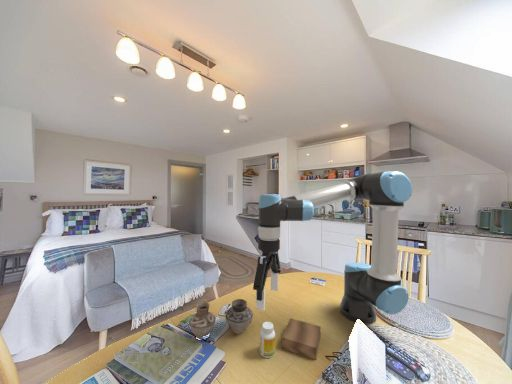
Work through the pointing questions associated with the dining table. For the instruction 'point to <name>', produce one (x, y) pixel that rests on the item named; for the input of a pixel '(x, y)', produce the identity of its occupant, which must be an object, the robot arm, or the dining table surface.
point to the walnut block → (301, 338)
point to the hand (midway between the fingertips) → (267, 298)
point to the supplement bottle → (267, 340)
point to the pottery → (235, 316)
